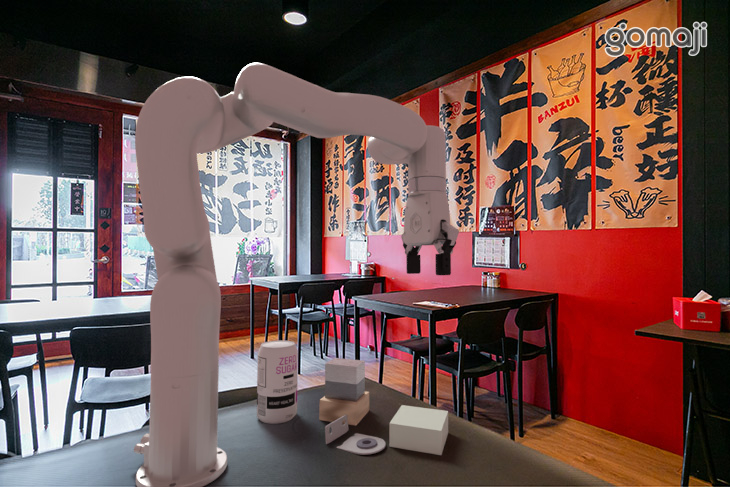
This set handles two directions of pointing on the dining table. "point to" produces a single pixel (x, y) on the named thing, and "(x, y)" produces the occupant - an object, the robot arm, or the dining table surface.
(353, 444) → the bracket
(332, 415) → the stand
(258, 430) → the dining table surface
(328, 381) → the block
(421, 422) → the stand
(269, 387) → the supplement can
